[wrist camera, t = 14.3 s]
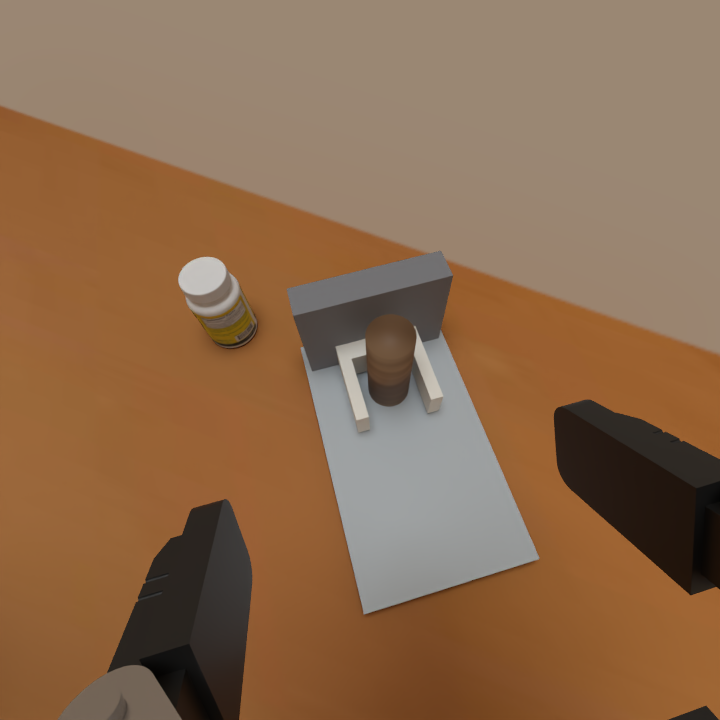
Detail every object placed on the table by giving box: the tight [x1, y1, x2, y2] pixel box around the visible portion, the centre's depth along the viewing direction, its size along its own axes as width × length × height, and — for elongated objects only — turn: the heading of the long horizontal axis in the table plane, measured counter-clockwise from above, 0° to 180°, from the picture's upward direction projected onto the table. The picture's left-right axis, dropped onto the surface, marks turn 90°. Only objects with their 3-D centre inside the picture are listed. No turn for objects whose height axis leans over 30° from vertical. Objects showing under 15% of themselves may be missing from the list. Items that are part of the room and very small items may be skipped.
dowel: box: [365, 314, 417, 407], centre depth 33 cm, size 4×4×9 cm
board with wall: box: [287, 251, 540, 614], centre depth 31 cm, size 22×13×10 cm, turn 15°
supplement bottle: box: [178, 257, 257, 348], centre depth 38 cm, size 5×5×8 cm
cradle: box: [336, 326, 443, 433], centre depth 35 cm, size 7×7×3 cm
